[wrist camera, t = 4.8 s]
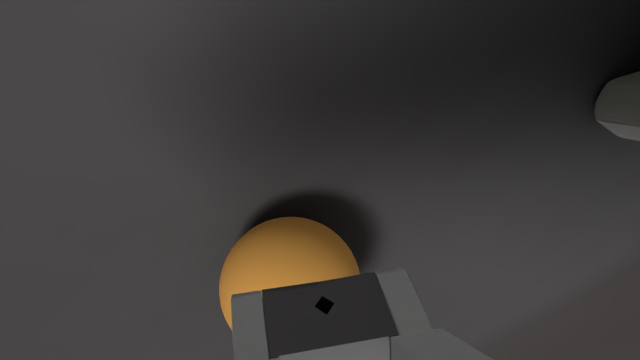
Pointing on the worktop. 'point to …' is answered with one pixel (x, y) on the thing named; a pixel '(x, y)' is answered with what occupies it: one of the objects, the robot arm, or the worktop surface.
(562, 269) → the worktop surface
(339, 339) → the robot arm
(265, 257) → the ball
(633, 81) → the digital clock
